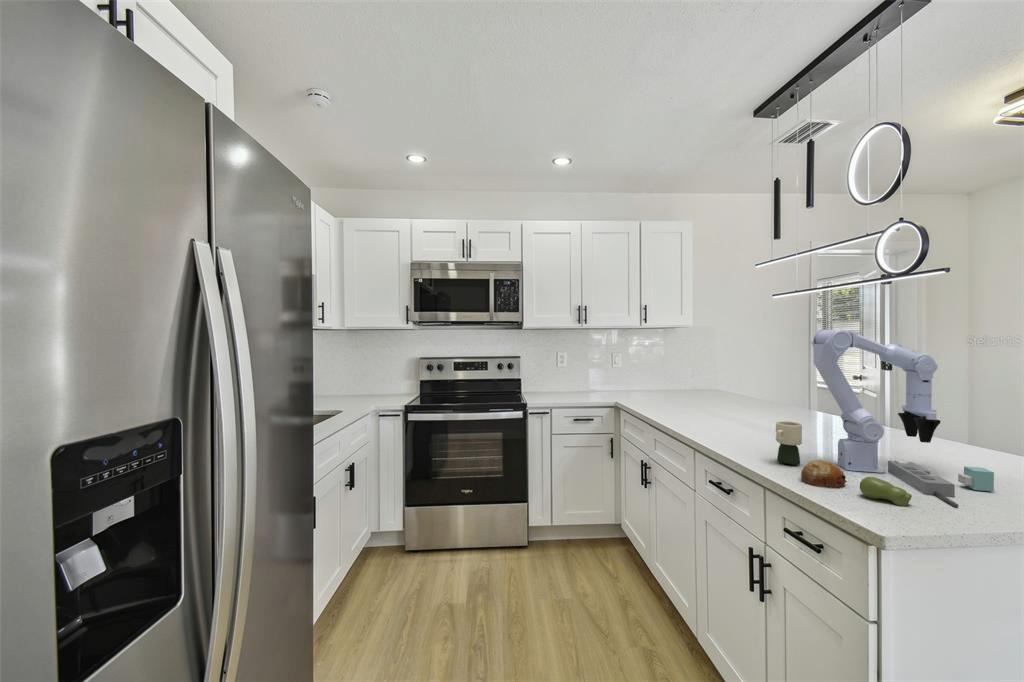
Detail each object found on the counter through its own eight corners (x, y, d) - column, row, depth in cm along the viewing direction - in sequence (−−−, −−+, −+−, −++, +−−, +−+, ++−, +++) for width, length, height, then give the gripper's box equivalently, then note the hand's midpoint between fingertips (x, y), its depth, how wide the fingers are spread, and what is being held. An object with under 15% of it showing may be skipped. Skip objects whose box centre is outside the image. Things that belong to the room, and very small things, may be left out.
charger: (966, 489, 117) (966, 470, 117) (956, 484, 121) (956, 465, 121) (994, 491, 115) (994, 472, 115) (983, 486, 119) (983, 467, 119)
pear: (864, 471, 116) (915, 487, 108) (860, 490, 116) (910, 508, 109) (859, 476, 112) (911, 493, 105) (855, 495, 113) (906, 514, 105)
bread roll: (811, 488, 130) (797, 461, 132) (850, 479, 124) (835, 452, 126) (807, 498, 122) (792, 469, 124) (849, 489, 116) (833, 459, 118)
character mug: (788, 458, 147) (788, 419, 147) (810, 464, 141) (810, 423, 140) (766, 463, 142) (766, 422, 142) (788, 469, 136) (788, 427, 136)
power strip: (944, 506, 106) (945, 491, 106) (887, 471, 133) (887, 458, 133) (977, 509, 104) (977, 493, 104) (912, 473, 131) (912, 460, 131)
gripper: (950, 398, 125) (949, 446, 126) (921, 391, 139) (921, 434, 139) (919, 397, 128) (918, 444, 128) (894, 390, 141) (893, 433, 142)
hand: (918, 439), depth 134 cm, fingers open, 7 cm apart
